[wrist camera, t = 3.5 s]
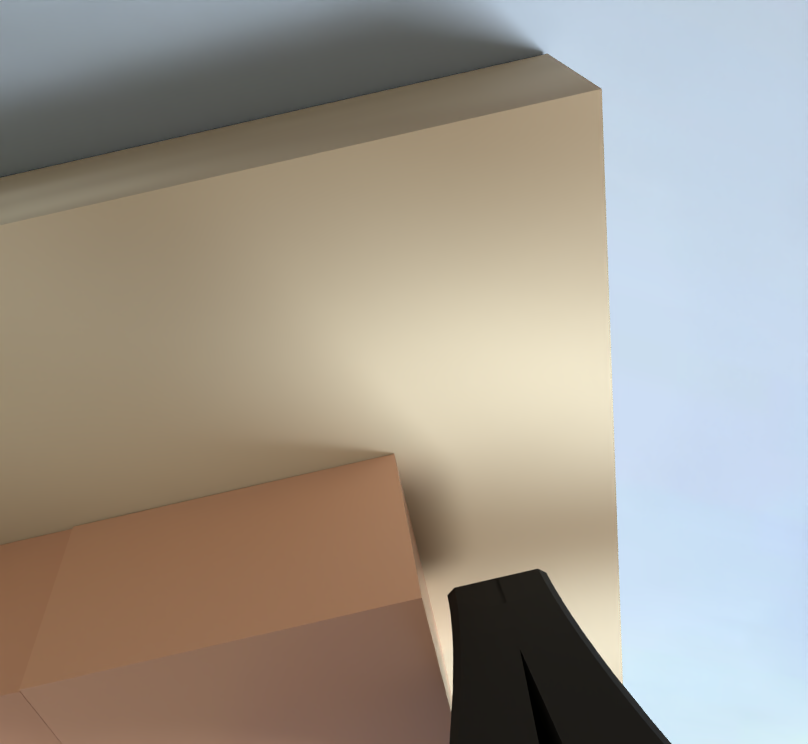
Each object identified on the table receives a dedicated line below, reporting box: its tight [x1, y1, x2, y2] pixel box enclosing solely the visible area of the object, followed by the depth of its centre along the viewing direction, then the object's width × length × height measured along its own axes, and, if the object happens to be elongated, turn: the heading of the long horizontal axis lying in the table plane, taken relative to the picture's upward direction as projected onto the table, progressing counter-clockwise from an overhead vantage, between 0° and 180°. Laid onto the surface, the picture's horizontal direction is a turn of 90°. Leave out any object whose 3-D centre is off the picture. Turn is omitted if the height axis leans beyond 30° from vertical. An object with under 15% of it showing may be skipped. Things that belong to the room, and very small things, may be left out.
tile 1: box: [19, 454, 452, 744], centre depth 11 cm, size 4×4×2 cm
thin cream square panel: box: [0, 54, 623, 693], centre depth 12 cm, size 13×12×2 cm
